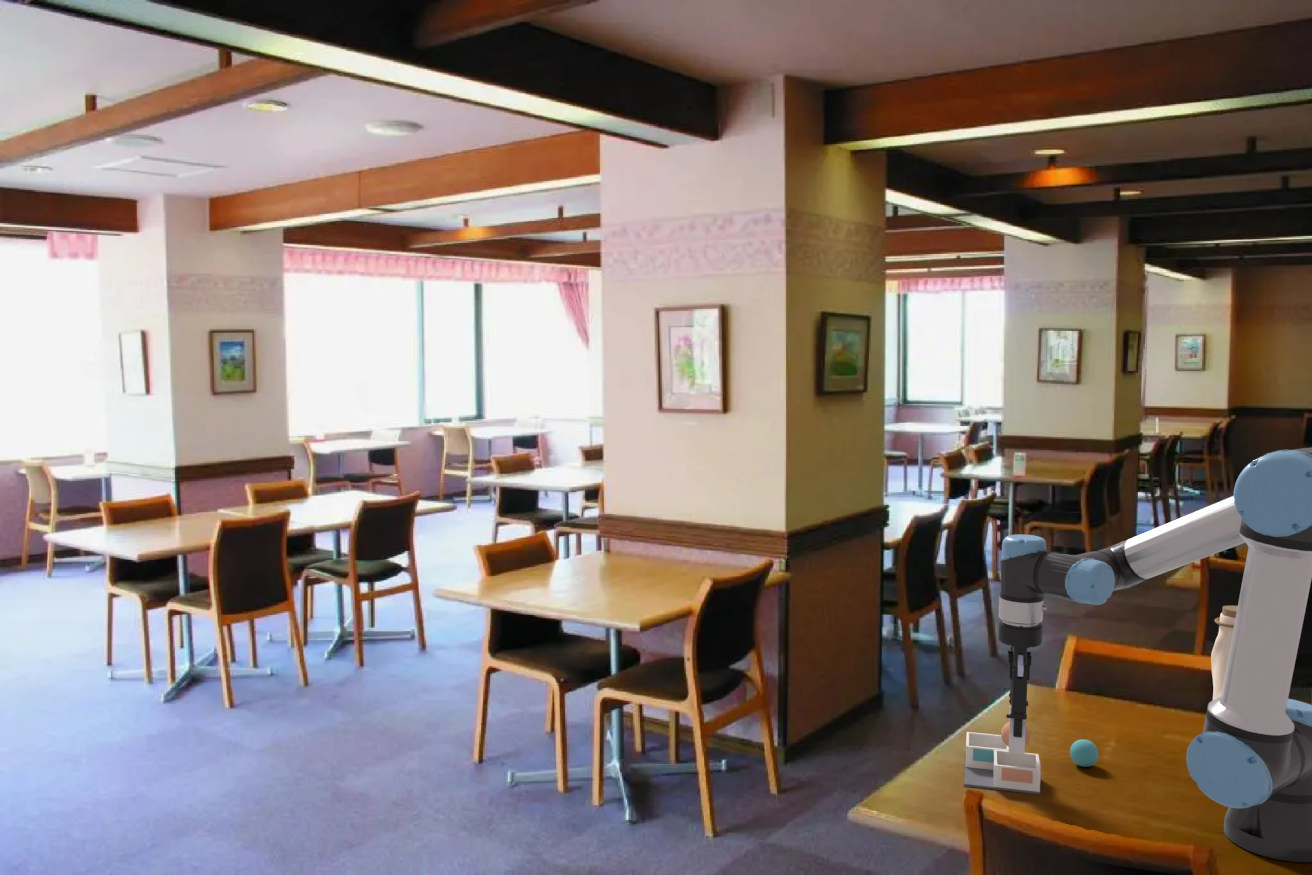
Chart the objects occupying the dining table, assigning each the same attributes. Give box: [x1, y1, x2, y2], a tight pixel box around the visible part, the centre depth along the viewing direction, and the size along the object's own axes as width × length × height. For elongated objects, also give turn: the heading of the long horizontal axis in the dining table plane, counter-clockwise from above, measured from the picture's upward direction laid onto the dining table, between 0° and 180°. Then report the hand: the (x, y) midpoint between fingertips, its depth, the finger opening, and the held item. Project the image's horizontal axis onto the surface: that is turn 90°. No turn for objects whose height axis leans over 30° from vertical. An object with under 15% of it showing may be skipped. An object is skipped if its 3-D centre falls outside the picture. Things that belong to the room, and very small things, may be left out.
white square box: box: [993, 750, 1042, 793], centre depth 197 cm, size 8×8×4 cm
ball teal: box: [1069, 738, 1099, 768], centre depth 205 cm, size 5×5×5 cm
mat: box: [963, 753, 1041, 795], centre depth 201 cm, size 16×13×1 cm
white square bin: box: [965, 731, 1009, 770], centre depth 206 cm, size 8×8×4 cm
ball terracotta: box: [1000, 721, 1031, 747], centre depth 196 cm, size 5×5×5 cm
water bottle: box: [1210, 605, 1238, 701], centre depth 212 cm, size 10×9×28 cm
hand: (1016, 746), depth 197 cm, fingers closed on ball terracotta, 5 cm apart
